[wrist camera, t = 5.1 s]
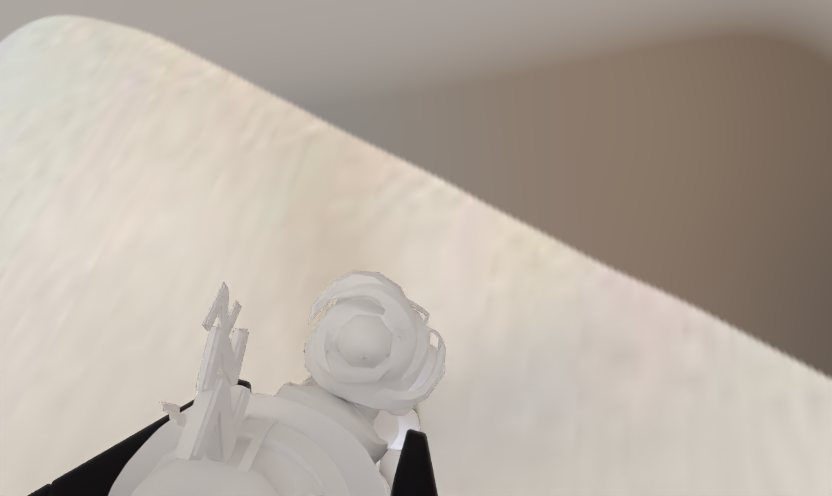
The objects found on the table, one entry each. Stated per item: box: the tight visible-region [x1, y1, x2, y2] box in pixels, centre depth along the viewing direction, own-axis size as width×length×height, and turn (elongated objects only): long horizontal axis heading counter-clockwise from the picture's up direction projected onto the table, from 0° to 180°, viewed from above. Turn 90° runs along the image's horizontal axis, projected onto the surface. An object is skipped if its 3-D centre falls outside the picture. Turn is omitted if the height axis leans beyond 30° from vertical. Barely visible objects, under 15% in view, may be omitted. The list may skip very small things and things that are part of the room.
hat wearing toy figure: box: [108, 271, 445, 496], centre depth 10 cm, size 9×4×12 cm, turn 152°
